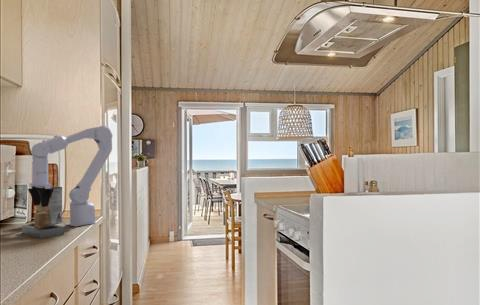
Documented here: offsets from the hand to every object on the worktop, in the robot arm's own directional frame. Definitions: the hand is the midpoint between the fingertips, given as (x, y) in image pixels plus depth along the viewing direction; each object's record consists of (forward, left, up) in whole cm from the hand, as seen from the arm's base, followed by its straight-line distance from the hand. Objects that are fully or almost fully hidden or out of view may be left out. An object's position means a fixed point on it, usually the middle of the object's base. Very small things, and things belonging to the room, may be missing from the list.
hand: (40, 205), depth 149 cm
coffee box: (-8, -11, -10) cm, 17 cm away
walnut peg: (+4, +11, -9) cm, 15 cm away
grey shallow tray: (+4, +11, -9) cm, 15 cm away
